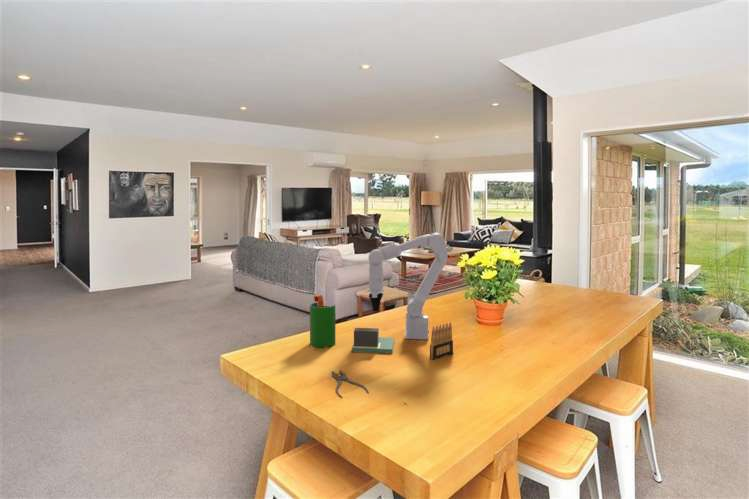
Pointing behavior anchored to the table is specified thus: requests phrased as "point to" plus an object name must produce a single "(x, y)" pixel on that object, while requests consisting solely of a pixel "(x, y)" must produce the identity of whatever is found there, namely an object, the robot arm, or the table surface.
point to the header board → (383, 347)
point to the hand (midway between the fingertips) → (376, 311)
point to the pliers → (344, 377)
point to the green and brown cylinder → (322, 323)
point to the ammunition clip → (441, 342)
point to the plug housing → (366, 337)
